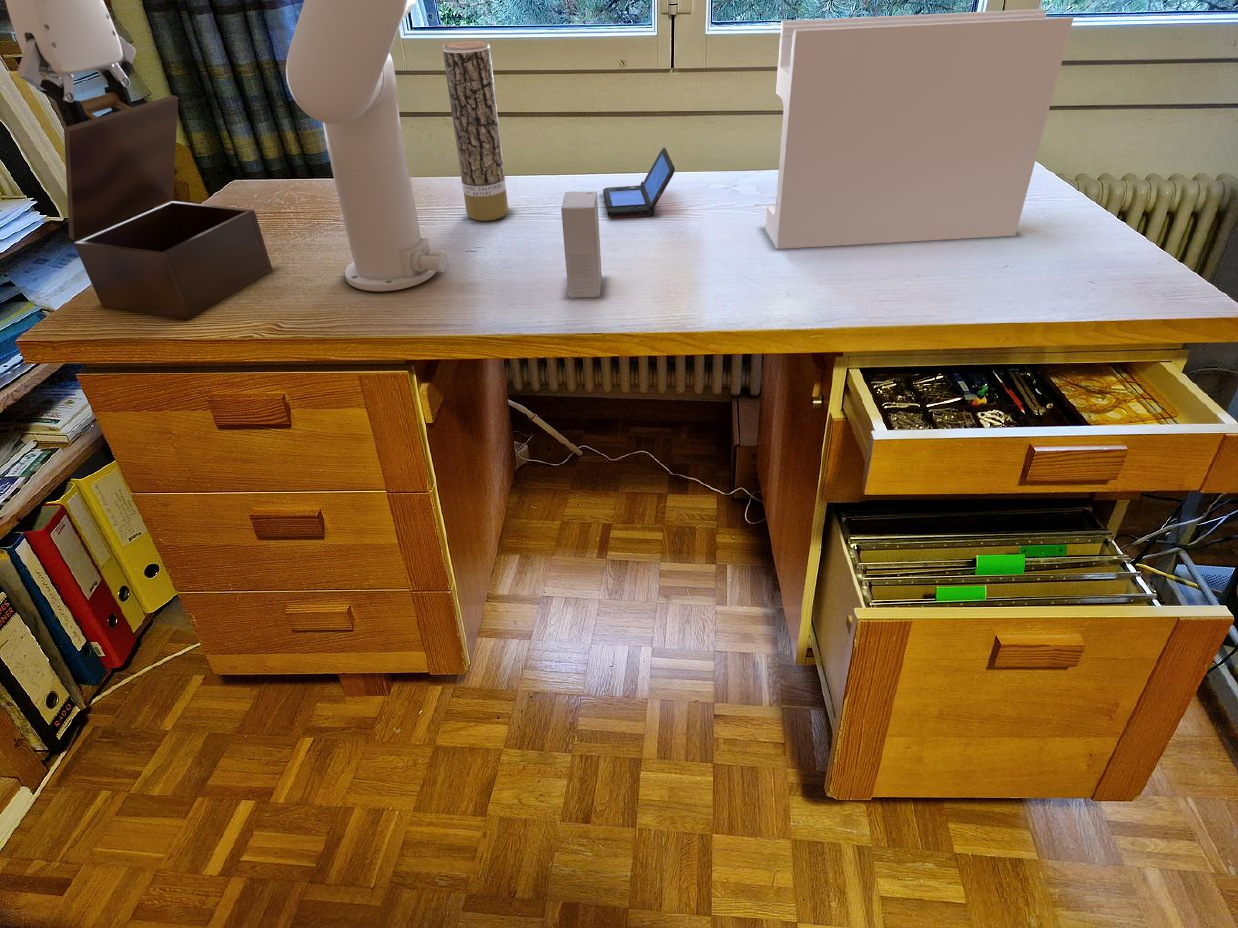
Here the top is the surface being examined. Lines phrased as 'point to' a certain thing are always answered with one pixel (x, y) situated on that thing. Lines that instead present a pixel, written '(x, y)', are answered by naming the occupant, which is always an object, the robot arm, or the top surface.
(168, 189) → the lid
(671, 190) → the top surface
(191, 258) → the keepsake box
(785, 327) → the top surface
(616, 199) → the handheld game console
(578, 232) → the cosmetic box
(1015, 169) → the block
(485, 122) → the paper tube
